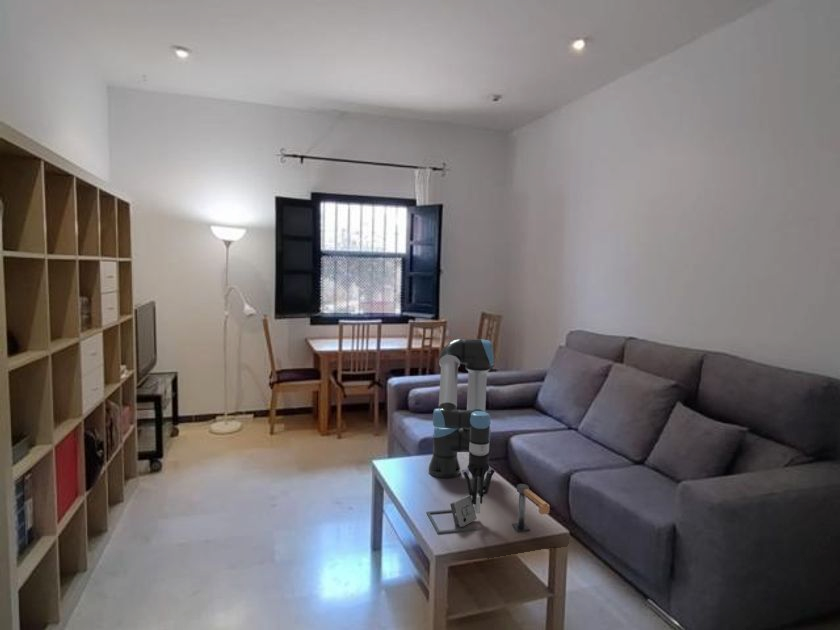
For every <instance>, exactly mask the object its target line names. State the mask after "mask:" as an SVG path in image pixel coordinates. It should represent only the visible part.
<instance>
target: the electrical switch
mask: <svg viewBox="0 0 840 630" xmlns="http://www.w3.org/2000/svg"><path fill="white" fill-rule="evenodd" d="M450 508H451V509H450V510H452V512H451V513H452V517H453V521H454V525H458V526H459V528H464V527H465V526H467V525H468V524H470V523H472V522H475V521H476V520H477V516H476V514H477V513H476V512H475V510H474V504H473V503H472V496H470V495H469V494H468V495H466V496H464V497H461V498H459V499H457V500H455V501H453V502H451V503H450Z"/></svg>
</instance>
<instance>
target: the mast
mask: <svg viewBox="0 0 840 630" xmlns="http://www.w3.org/2000/svg"><path fill="white" fill-rule="evenodd" d="M518 494H519V497H518V515H517V522H515V523H511V526H512V528H513V529H514V530H515V531H516V532H517V533H524V532H530V531H531V528H530V527H529V526H528V525H527V524H526V523H525V521H526V518H525V517H526V499H527V496H526V495H525V494H522V493H519V492H518Z"/></svg>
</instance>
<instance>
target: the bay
mask: <svg viewBox="0 0 840 630" xmlns="http://www.w3.org/2000/svg"><path fill="white" fill-rule="evenodd" d="M425 513H426V515H427V517H428V519H429V521H430V522H432V523H431V524H432V526H433V528H434V530H435V531H436V533H437V535H440V534H441V535H442V534H450V533H451V534H452V533H461V532H471V531H478V530H477V527H476V526H475V527H474V526H473V527H465V528H464V527H461V528H454V529H443V530H440V529H439V526H437V524H436V522H435V520H434V518H433V516H432V515H434V514H437V515H438V514H446V513H452V510H451V509H443V510H442V509H441V510H433V511H431V510H430V511H426V512H425Z"/></svg>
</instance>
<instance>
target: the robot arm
mask: <svg viewBox="0 0 840 630" xmlns="http://www.w3.org/2000/svg"><path fill="white" fill-rule="evenodd" d="M438 364H439V366H440V378H439V379H440V380H439V392H438V393H439V395H438V397H439V398H438V408H434V409H433V414H432V415H433V416H432V418H433V419H432V424H433V427H434V428H433V434H432V437H433V443H432V457H431V460H430V462H429V466H428V473H429V474H430V475H431V476H432V477H435V478H440V479H452V478H456V477H458V476H459V475H461V473H462V474H463V477H464V482H465V486H466V491H467V493H468V495H470V496H471V498H472V503H473V506H474V510H475V514H480V513H481V505H482V504H483V498H484V495H487V494H488V492H489V488H490V484H491V480H492V477H493V475H494V473H495V470H494V469H493V467H490V464H489V461H490V460H489V459H490V458H489V457H490V454H489V451H490V441H491V427H490V426H491V415H490V413H488V412H486V401H487V381H488V380H487V379H488V373H489V371H491V368H492V366H494V365H495V358H494V347H493V343H492V341H491V340H489V339H488V340H487V339H482V338H481V339H479V338H478V339H475V338H472V339H471V338H456V339H454V340H451V341H450V342H448V343H447V344H446V345H445V346H444V347H443V349H442V350H441V351H440V354H439V359H438ZM461 365H464V366H465V370H466V371H468V372H467V373H468V377H467V379H468V380H467V396H466V397H467V400H466V403H467V404H466V409H457V408H458V407H457V406H458V379H459V378H458V375H459V374H458V373H459V367H461ZM458 453H468V465H467V468H466V469H462V470H461V465H460V461H459V459H458ZM470 474H471V480H470V476H469V475H470Z"/></svg>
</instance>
